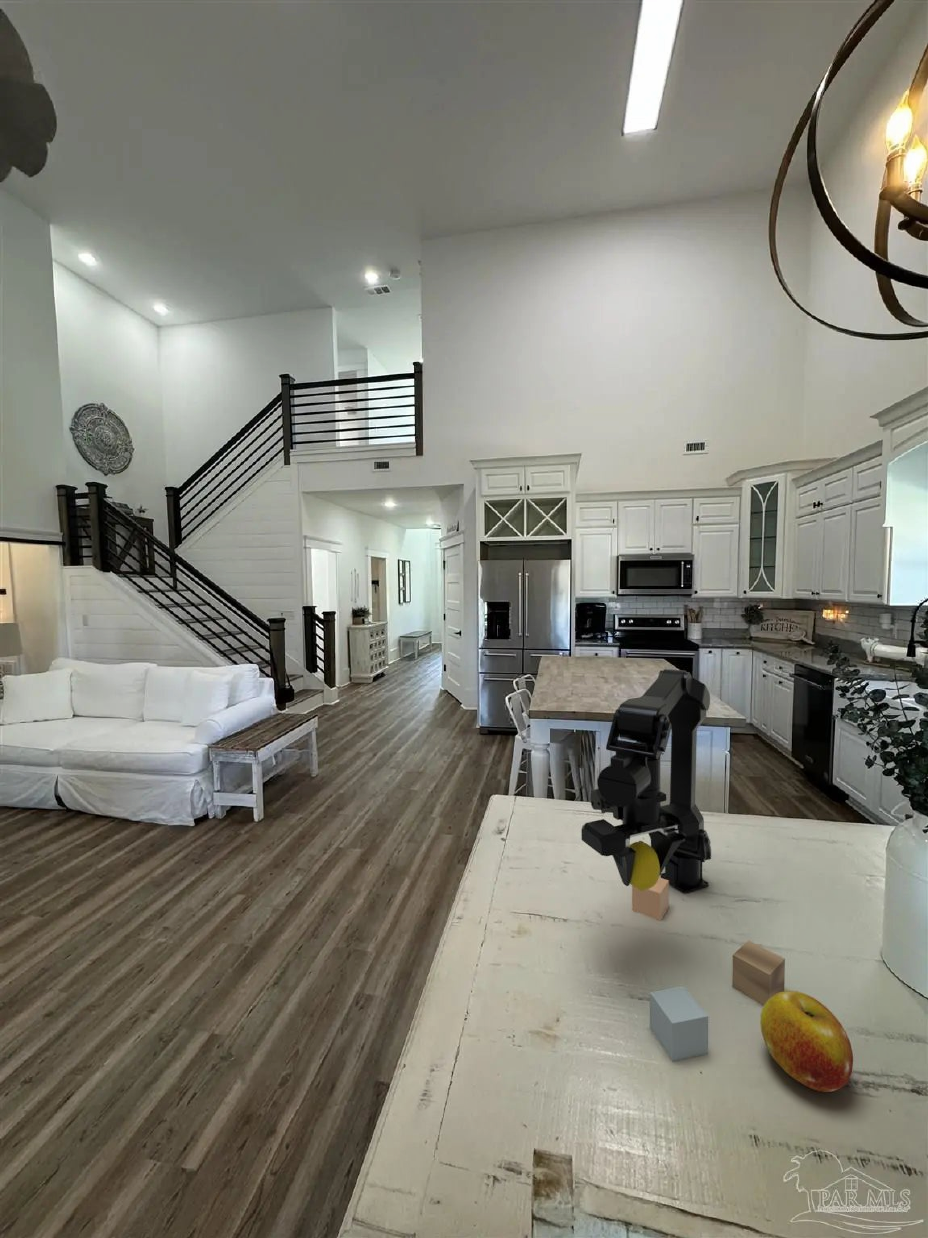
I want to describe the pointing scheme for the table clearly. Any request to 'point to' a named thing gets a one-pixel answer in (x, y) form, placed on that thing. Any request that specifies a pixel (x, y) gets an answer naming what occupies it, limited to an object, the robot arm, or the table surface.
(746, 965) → the walnut block
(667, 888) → the terracotta block
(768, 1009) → the fruit
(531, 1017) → the table surface
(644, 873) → the lemon
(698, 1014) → the slate block
